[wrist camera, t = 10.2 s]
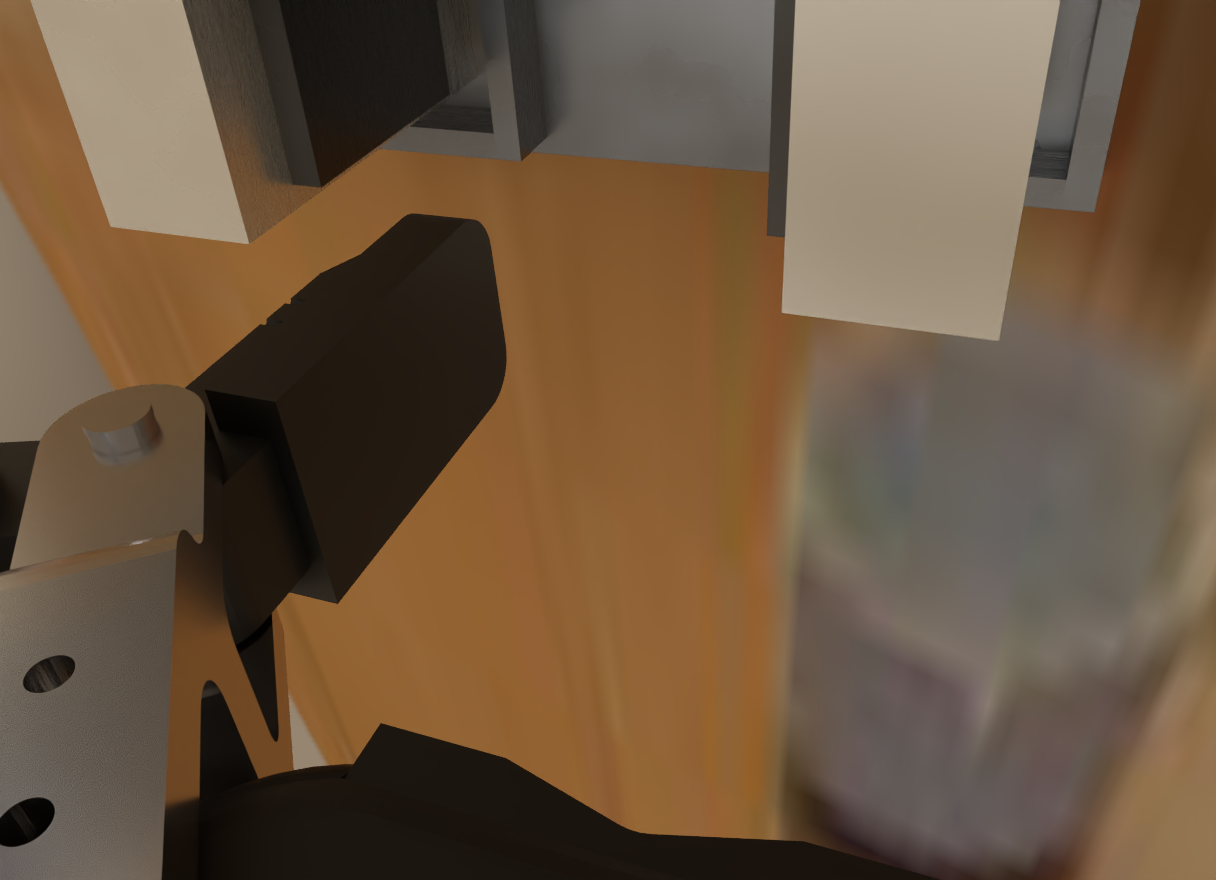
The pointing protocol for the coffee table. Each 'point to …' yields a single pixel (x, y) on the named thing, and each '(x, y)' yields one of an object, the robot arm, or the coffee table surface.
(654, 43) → the grey boxy piece
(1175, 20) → the coffee table surface
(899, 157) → the block
